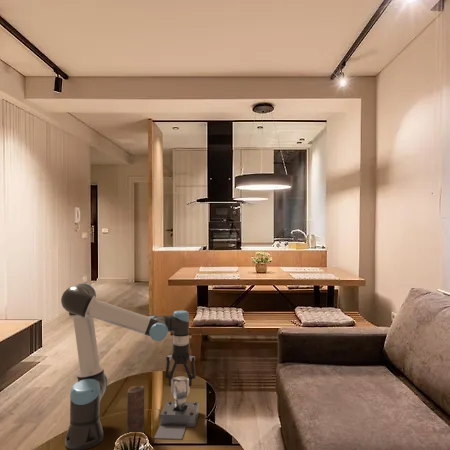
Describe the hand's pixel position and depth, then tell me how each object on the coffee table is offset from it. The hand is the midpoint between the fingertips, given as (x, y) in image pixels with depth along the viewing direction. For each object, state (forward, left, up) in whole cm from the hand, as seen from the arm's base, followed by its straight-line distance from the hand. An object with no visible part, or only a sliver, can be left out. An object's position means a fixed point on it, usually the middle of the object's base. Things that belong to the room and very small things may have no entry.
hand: (180, 392), depth 172 cm
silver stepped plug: (0, 0, -7) cm, 7 cm away
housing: (0, 0, -12) cm, 12 cm away
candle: (-17, -15, -12) cm, 26 cm away
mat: (-2, -13, -12) cm, 18 cm away
